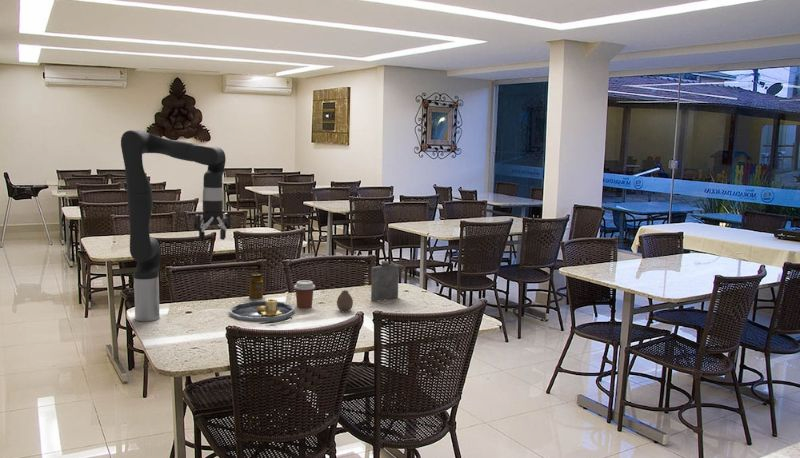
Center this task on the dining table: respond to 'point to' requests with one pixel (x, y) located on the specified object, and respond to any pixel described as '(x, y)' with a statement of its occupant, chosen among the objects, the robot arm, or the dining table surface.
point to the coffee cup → (304, 293)
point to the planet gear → (271, 308)
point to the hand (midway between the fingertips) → (212, 240)
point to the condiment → (256, 286)
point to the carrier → (254, 309)
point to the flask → (384, 281)
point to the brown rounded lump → (344, 301)
